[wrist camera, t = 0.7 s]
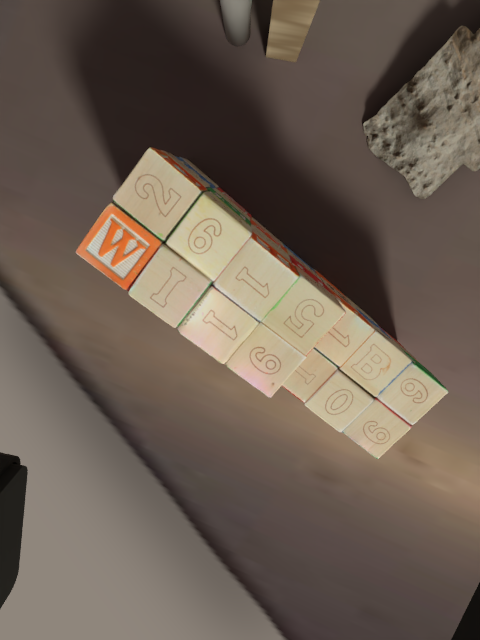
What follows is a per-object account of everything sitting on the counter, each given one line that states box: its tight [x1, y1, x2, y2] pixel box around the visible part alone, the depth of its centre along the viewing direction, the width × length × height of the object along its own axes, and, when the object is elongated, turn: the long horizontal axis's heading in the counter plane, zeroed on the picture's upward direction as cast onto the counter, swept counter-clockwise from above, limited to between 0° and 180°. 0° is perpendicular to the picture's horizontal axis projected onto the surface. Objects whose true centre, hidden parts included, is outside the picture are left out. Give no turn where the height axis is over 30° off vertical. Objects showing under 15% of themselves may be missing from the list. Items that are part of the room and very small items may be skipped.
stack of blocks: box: [76, 147, 448, 459], centre depth 28 cm, size 21×6×12 cm, turn 51°
